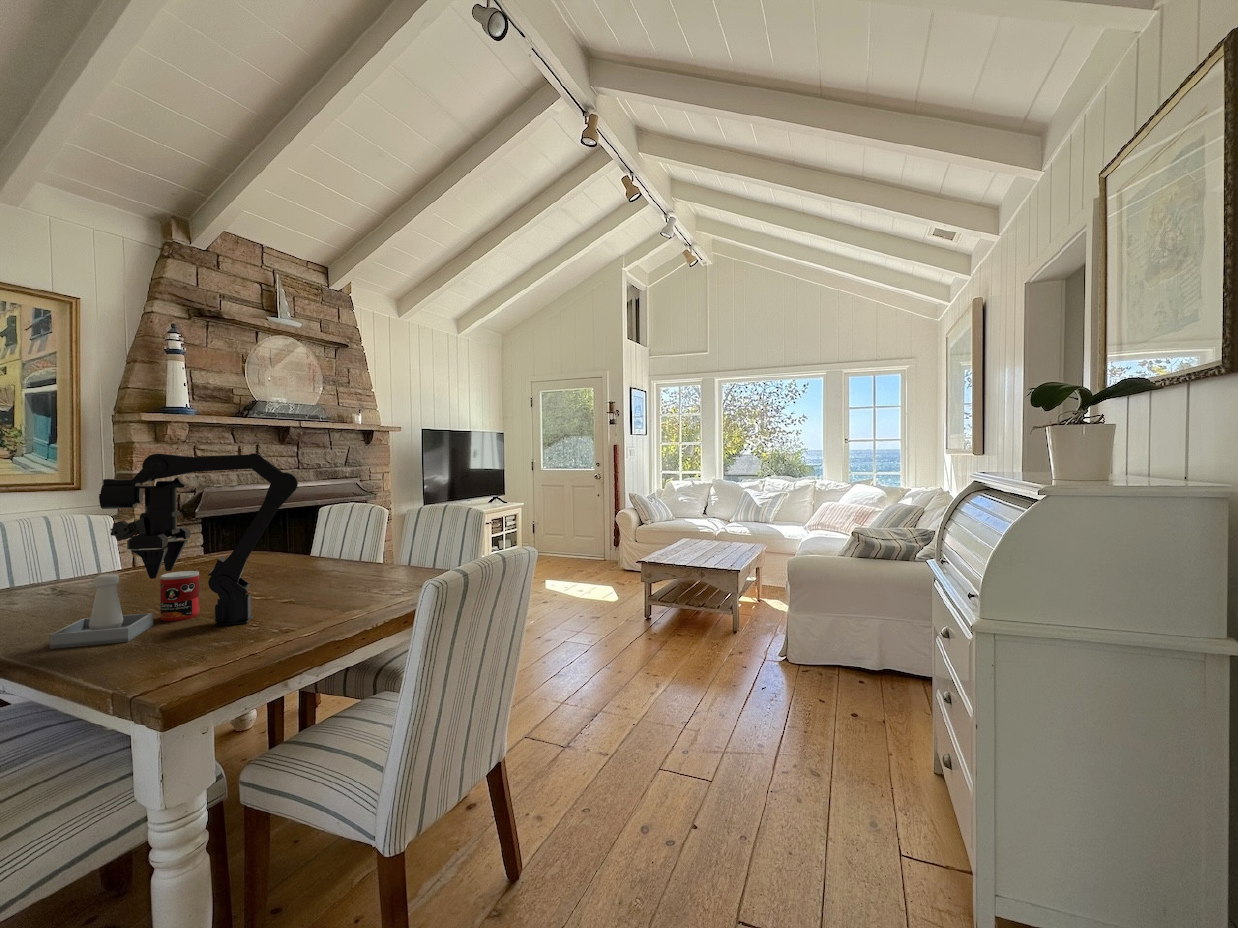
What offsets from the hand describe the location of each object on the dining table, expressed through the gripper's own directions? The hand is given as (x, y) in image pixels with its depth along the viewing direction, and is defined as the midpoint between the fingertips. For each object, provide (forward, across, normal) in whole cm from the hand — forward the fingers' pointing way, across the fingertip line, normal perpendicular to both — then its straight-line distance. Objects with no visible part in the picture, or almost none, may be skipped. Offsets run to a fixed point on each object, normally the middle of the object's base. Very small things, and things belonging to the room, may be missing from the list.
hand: (161, 574), depth 131 cm
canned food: (+13, -12, 0) cm, 18 cm away
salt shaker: (+12, +1, -10) cm, 16 cm away
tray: (+13, +1, -10) cm, 16 cm away
